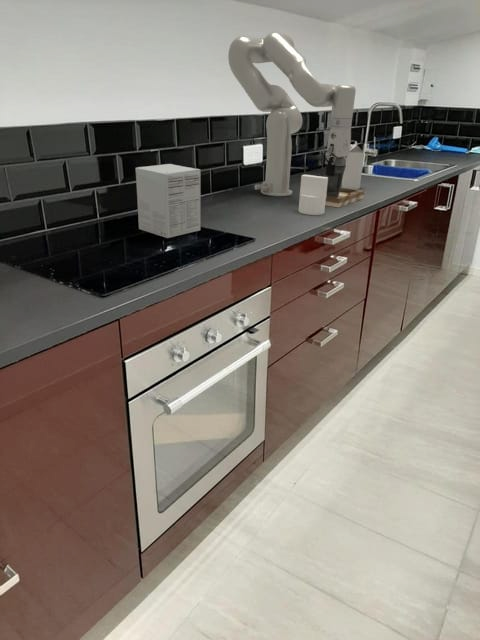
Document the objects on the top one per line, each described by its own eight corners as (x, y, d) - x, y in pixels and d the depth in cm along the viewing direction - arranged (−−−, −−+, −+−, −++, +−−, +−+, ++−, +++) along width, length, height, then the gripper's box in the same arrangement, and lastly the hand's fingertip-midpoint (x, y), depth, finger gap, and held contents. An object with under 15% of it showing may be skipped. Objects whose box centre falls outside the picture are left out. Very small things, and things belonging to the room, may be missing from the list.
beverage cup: (327, 199, 183) (334, 142, 174) (319, 194, 189) (325, 139, 181) (345, 198, 185) (352, 142, 176) (337, 194, 191) (343, 140, 182)
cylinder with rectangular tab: (328, 211, 173) (332, 176, 167) (318, 216, 166) (322, 179, 160) (304, 207, 177) (307, 173, 172) (294, 212, 170) (297, 176, 164)
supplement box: (201, 230, 145) (202, 169, 137) (167, 239, 136) (165, 173, 128) (172, 221, 152) (170, 163, 145) (137, 229, 143) (134, 167, 136)
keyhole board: (338, 207, 179) (339, 198, 177) (307, 202, 185) (308, 193, 184) (363, 198, 195) (364, 190, 193) (333, 193, 202) (334, 185, 200)
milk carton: (357, 186, 219) (363, 141, 211) (359, 189, 212) (365, 143, 204) (341, 185, 219) (347, 140, 211) (342, 188, 213) (348, 142, 205)
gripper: (339, 125, 167) (333, 178, 175) (360, 123, 180) (354, 173, 188) (319, 123, 171) (314, 175, 179) (342, 122, 184) (336, 170, 192)
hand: (334, 174), depth 183 cm, fingers closed on beverage cup, 7 cm apart
